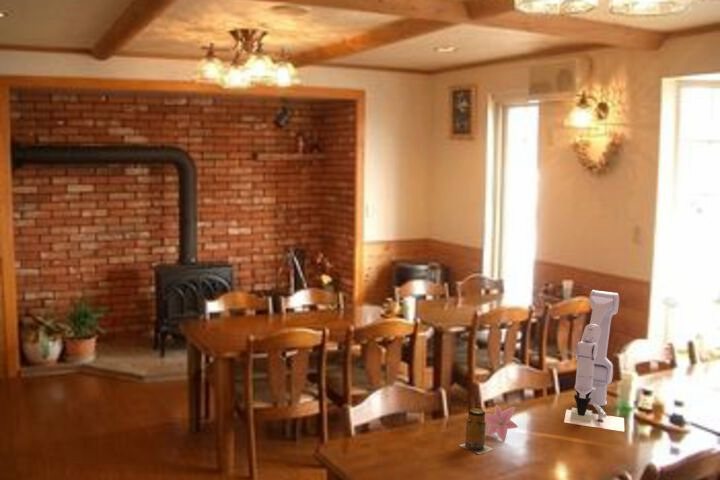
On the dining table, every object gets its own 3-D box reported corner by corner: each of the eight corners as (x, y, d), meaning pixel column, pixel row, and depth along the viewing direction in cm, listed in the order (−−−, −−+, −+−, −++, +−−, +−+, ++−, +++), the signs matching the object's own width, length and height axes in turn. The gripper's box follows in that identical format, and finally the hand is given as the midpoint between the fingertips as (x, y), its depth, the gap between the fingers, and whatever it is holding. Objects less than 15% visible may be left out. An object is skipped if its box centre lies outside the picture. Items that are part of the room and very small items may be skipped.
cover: (571, 414, 265) (571, 407, 265) (591, 417, 263) (592, 410, 263) (570, 418, 261) (571, 412, 260) (591, 422, 258) (591, 415, 258)
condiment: (474, 440, 240) (476, 405, 238) (494, 449, 233) (496, 413, 232) (458, 445, 235) (460, 409, 234) (478, 455, 229) (481, 418, 227)
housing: (566, 412, 270) (566, 409, 270) (623, 420, 264) (623, 417, 264) (563, 425, 257) (564, 422, 257) (624, 434, 251) (624, 431, 251)
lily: (477, 431, 251) (475, 411, 246) (506, 415, 254) (503, 396, 249) (498, 454, 242) (495, 434, 236) (527, 437, 245) (525, 417, 240)
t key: (601, 424, 256) (602, 413, 255) (592, 412, 268) (592, 401, 267) (605, 424, 256) (606, 413, 255) (596, 412, 268) (597, 402, 267)
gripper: (596, 382, 252) (592, 420, 253) (596, 371, 265) (593, 407, 267) (574, 379, 254) (571, 417, 256) (576, 368, 268) (573, 404, 269)
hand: (581, 411), depth 261 cm, fingers open, 7 cm apart
